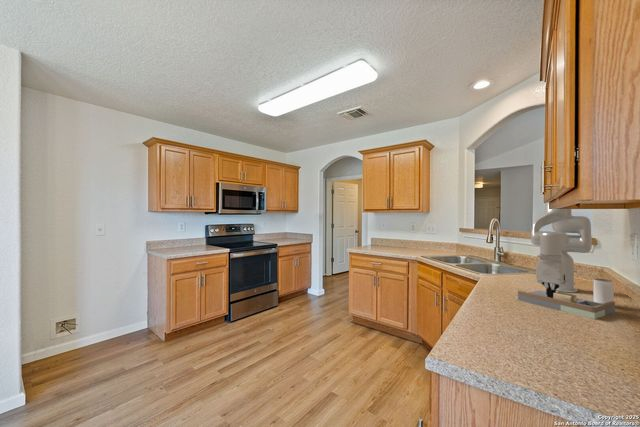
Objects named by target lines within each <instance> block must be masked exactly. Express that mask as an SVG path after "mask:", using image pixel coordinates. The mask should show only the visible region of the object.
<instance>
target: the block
mask: <svg viewBox="0 0 640 427" xmlns="http://www.w3.org/2000/svg"><path fill="white" fill-rule="evenodd" d="M553 298H554V299H559V300H563V301H568V302H572V303H577V301H576V298H577V295H576V294H572V293H569V292H562V291H557V292H556V293H553Z"/></svg>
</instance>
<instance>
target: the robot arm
mask: <svg viewBox="0 0 640 427" xmlns="http://www.w3.org/2000/svg"><path fill="white" fill-rule="evenodd" d="M548 225H551V227H552V231H547V230H546V231H543V230H542V231H541V229H543V227H545V226H548ZM570 234H575V235H570ZM576 234H578V235H576ZM530 241H531V244H533V245H534V246H537V247H539V248H540V249H539V250H540V251H539V252H540V253H539V254H537V255H536V257H537V258H539V259H538V261H537V265H536V268H535V270H536V271H535V279H536V280H537V281H536V283H539V284H541V285H542V286H544V287H545V289H546V290H545V292H546V295H547V297H550V298H553V293H557V292H563V293H571V294H572V293H578V289H577V288H576V287H575V285H576V283H575V277H574V276H575V275H574V272H575V271H574V269H575V268H574V267H575V265H574V259H573V257H572V256H571V255H570V254H568V253H579V254H585V253H586V254H587V253H590V252H591V250H592V224H591V220H590V219H589V217H587V216H583V215H580V216H579V215H575V216H574V215H572V208H571V209H549V203H546V202H545V206H544V214H542V215H541V216H539V217H538V218H537V219H536V220H535V221H534V222H533V224H532V226H531V232H530ZM556 291H557V292H556Z"/></svg>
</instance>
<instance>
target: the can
mask: <svg viewBox="0 0 640 427" xmlns="http://www.w3.org/2000/svg"><path fill="white" fill-rule="evenodd" d="M592 289H593V293H592V294H593V302H597V303H602V304H603V303H607V302H610V301H614V298H615V297H614V296H615V295H614V283H613V280H611V279H605V278H594V281H593V288H592ZM614 302H615V301H614Z"/></svg>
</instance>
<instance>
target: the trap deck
mask: <svg viewBox="0 0 640 427" xmlns="http://www.w3.org/2000/svg"><path fill="white" fill-rule="evenodd" d="M517 301H521V302H525V303H529V304H533V305H537V306H540V307H544V308H549V309H552V310H557V311H561V312H564V313H569V314H573V315H577V316H581V317H585V318H589V319H593V320H597V319H600V318H602V317H604V316H608V315H611V314H613V313H615V312H616V304H615V303H616V302H615V301H610V302H607V303H603V304H602V303H597V302H594V301H591V300H587V299H583V298H578V297H576V301H577V303H572V302H568V301H563V300H559V299H554V298H550V297H547V295H546V290H545V291H544V290H535V291H534V290H533V291H529V292H527V291H523V290H517Z"/></svg>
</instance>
